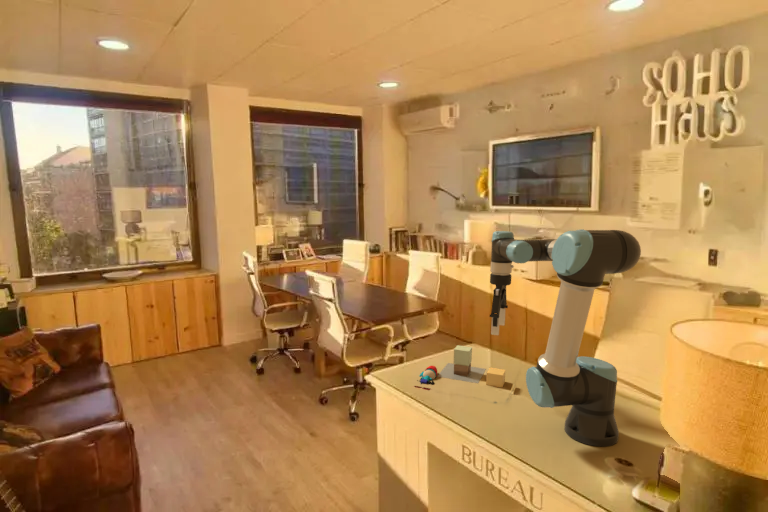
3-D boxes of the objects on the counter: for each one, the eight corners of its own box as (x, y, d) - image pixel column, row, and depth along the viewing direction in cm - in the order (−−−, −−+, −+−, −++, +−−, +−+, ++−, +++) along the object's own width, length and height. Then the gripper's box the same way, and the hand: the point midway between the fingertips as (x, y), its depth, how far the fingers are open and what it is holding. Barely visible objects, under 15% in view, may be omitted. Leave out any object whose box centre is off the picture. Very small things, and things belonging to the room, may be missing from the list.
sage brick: (468, 366, 187) (469, 351, 186) (453, 363, 189) (454, 349, 188) (471, 361, 192) (472, 347, 191) (456, 359, 194) (457, 345, 193)
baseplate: (477, 386, 181) (478, 383, 181) (437, 379, 187) (437, 376, 187) (486, 371, 196) (486, 368, 195) (447, 365, 202) (447, 362, 201)
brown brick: (467, 376, 187) (467, 366, 187) (453, 374, 189) (454, 364, 189) (470, 371, 193) (471, 361, 192) (457, 368, 195) (457, 359, 194)
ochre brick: (502, 390, 177) (502, 375, 177) (485, 388, 180) (486, 372, 179) (504, 384, 183) (505, 369, 182) (488, 382, 185) (489, 367, 184)
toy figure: (431, 394, 177) (443, 374, 190) (430, 383, 176) (441, 363, 189) (412, 392, 180) (425, 372, 193) (411, 381, 179) (423, 361, 192)
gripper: (506, 280, 162) (503, 340, 166) (516, 269, 185) (513, 322, 188) (484, 278, 165) (481, 337, 168) (496, 267, 188) (493, 320, 191)
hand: (498, 329), depth 178 cm, fingers open, 13 cm apart
